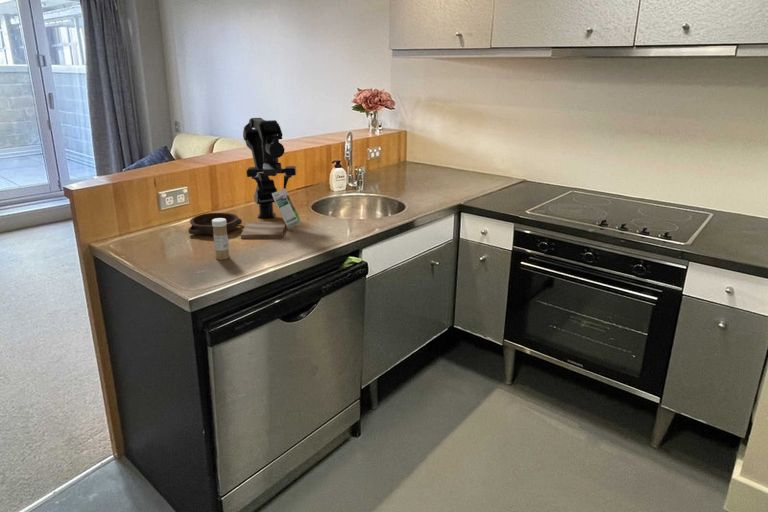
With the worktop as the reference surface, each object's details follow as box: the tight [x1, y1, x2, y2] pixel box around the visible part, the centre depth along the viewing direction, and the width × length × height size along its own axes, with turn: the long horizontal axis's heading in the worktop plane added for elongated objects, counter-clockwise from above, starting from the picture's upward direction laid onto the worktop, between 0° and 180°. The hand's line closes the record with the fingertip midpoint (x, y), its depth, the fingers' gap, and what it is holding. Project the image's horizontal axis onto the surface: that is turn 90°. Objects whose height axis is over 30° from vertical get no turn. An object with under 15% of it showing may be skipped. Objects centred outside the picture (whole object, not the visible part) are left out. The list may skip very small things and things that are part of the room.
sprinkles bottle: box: [212, 218, 230, 261], centre depth 174 cm, size 5×5×13 cm
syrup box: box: [272, 187, 302, 230], centre depth 206 cm, size 6×6×14 cm
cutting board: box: [240, 221, 287, 239], centre depth 203 cm, size 16×15×2 cm
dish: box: [187, 212, 243, 236], centre depth 203 cm, size 18×22×5 cm
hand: (273, 192), depth 209 cm, fingers open, 8 cm apart
